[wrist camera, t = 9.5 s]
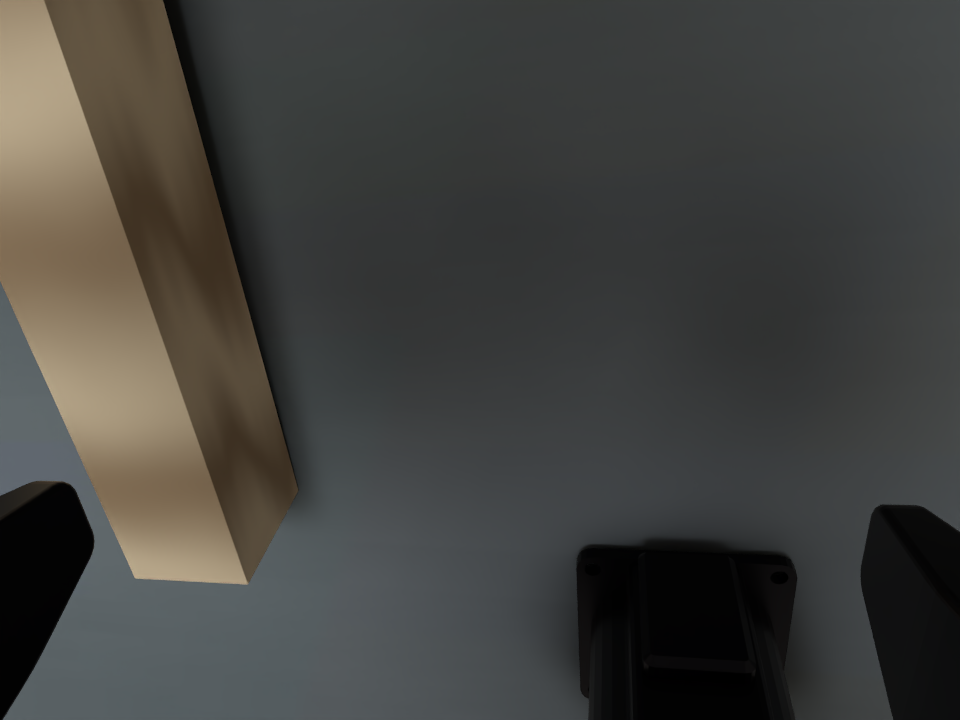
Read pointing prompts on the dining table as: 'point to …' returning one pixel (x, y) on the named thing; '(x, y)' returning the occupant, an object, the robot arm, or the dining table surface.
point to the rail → (135, 288)
